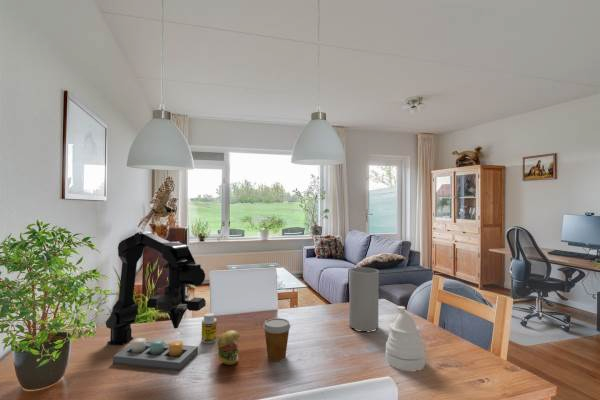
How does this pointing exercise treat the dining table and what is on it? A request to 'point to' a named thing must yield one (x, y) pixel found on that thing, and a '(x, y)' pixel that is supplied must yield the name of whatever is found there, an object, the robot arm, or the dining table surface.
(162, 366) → the panel
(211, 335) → the supplement bottle
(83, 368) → the dining table surface
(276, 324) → the disposable coffee cup
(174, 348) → the orange button
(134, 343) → the ivory button
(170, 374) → the dining table surface
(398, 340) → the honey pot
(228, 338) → the hamburger
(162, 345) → the teal button
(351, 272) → the cylinder vase
